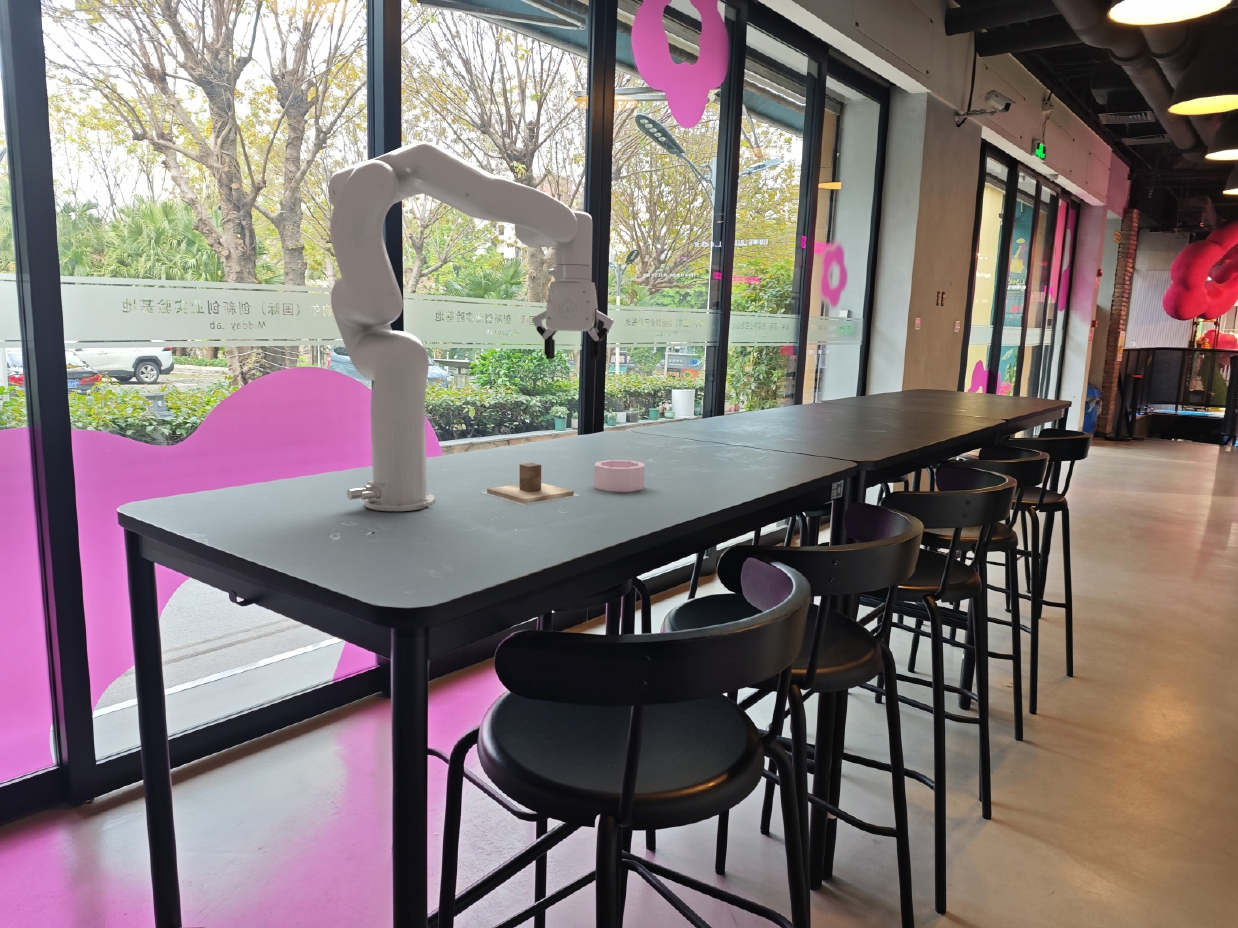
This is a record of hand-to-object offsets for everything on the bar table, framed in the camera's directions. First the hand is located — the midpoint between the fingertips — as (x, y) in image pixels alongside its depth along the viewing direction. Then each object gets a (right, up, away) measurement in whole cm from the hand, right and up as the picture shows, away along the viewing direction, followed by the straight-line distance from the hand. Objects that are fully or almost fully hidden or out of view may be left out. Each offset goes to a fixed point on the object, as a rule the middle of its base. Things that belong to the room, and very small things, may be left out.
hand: (572, 359), depth 173 cm
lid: (-8, -27, -10) cm, 30 cm away
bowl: (+10, -27, -1) cm, 28 cm away
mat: (-8, -28, -10) cm, 31 cm away
